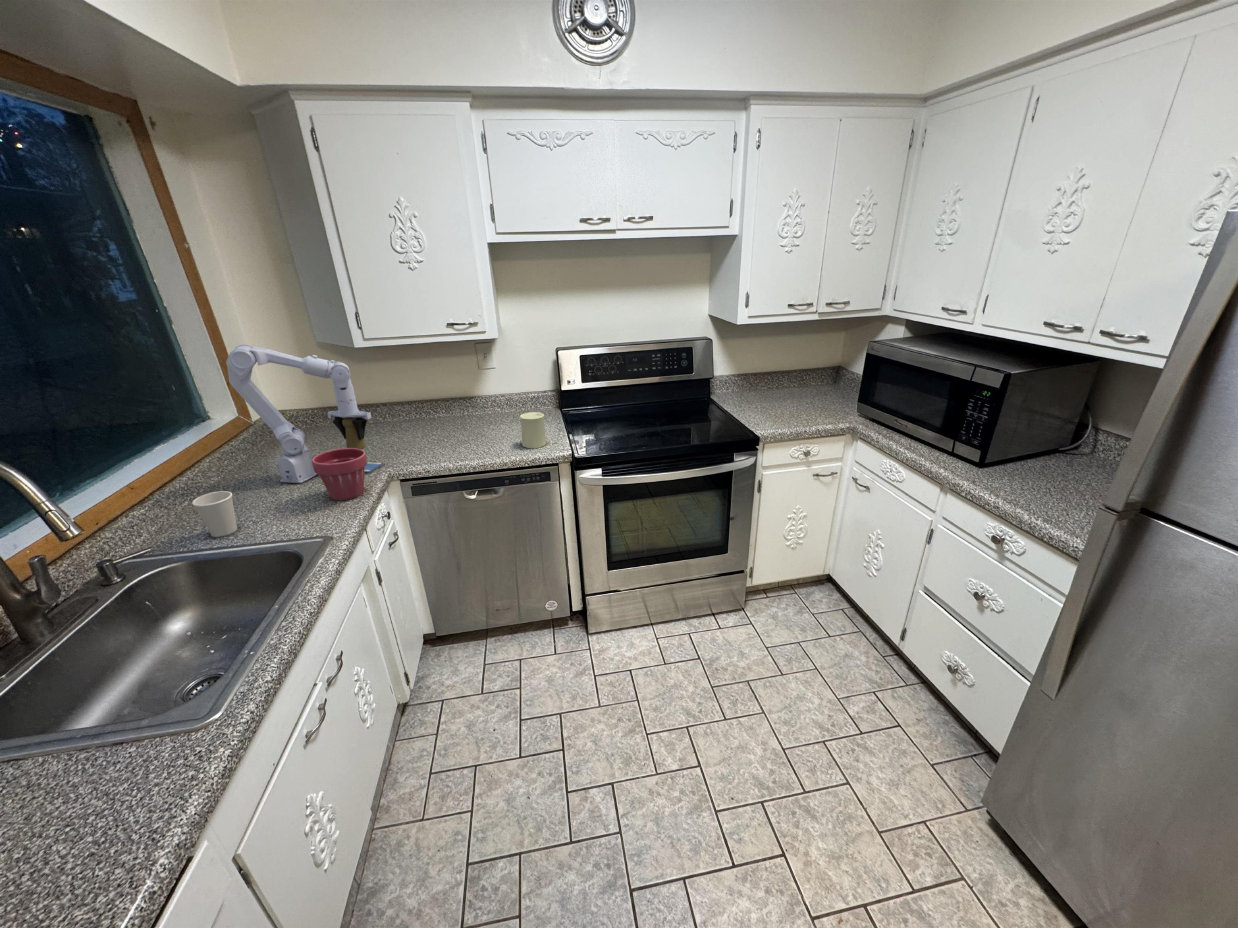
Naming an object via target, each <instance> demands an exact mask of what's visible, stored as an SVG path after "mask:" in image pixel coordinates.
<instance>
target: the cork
mask: <svg viewBox="0 0 1238 928" xmlns="http://www.w3.org/2000/svg"><path fill="white" fill-rule="evenodd" d="M353 420H356V418H351V417H346V418H344V419H343V420H342V424H343V426H344V427H345V431H346V439H345V445H346V448H357V449H361V450H364V449H365V448H367V444H366V441H365V438H363V439H361V440H359V439H358V436H357V432H356V429H355V427H354V425H353V423H352V421H353Z"/></svg>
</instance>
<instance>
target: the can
mask: <svg viewBox="0 0 1238 928" xmlns="http://www.w3.org/2000/svg"><path fill="white" fill-rule="evenodd" d="M519 419H520V430H521V445H522V447H524V448H527V449H537V448H542V447H544V446H546V445H547V441H546V439H547V438H546V429H545V428H546V427H545V414H544V413H542V412H538V411H530V412H529V411H528V412H524V413H522V414H520V415H519Z"/></svg>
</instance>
